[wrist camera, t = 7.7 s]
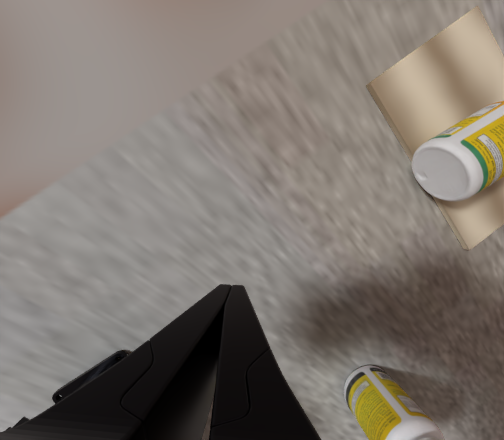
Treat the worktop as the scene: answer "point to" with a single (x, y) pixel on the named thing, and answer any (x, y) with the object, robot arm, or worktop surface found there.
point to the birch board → (448, 108)
